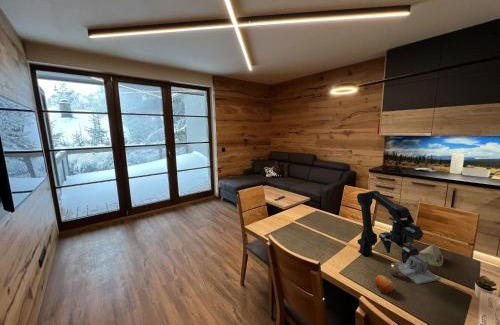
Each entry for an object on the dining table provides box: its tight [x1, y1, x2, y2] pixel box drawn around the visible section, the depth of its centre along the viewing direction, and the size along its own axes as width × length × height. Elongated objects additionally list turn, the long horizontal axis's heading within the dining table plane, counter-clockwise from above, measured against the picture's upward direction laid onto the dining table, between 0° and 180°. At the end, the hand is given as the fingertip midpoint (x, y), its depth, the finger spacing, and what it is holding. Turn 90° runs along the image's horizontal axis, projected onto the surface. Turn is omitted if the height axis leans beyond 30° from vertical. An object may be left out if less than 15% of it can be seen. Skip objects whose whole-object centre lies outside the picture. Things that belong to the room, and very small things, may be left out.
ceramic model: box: [418, 243, 444, 267], centre depth 125 cm, size 14×11×10 cm
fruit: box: [374, 274, 395, 294], centre depth 103 cm, size 8×8×8 cm
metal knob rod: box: [389, 262, 416, 277], centre depth 114 cm, size 18×4×5 cm, turn 103°
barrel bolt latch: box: [394, 255, 441, 285], centre depth 115 cm, size 14×16×8 cm
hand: (395, 257), depth 111 cm, fingers open, 9 cm apart
